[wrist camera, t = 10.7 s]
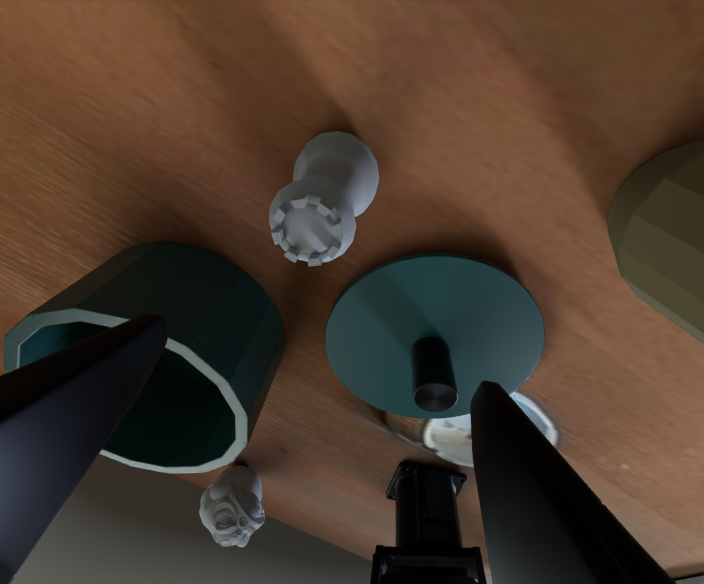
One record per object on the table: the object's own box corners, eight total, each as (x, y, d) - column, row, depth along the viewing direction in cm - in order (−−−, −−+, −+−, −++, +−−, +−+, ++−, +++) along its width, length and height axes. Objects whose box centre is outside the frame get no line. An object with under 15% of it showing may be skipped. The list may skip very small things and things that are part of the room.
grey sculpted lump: (290, 477, 36) (270, 556, 31) (240, 488, 39) (213, 562, 33) (255, 445, 34) (226, 524, 28) (203, 459, 36) (167, 534, 30)
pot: (290, 264, 22) (248, 343, 16) (279, 400, 30) (248, 489, 23) (81, 222, 22) (-45, 283, 16) (123, 369, 29) (50, 450, 23)
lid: (583, 275, 20) (633, 330, 16) (487, 422, 28) (504, 484, 24) (344, 225, 20) (331, 267, 16) (316, 387, 28) (302, 444, 24)
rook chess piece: (281, 171, 19) (218, 229, 12) (338, 108, 17) (300, 135, 10) (338, 229, 20) (310, 308, 14) (396, 177, 18) (398, 240, 12)
